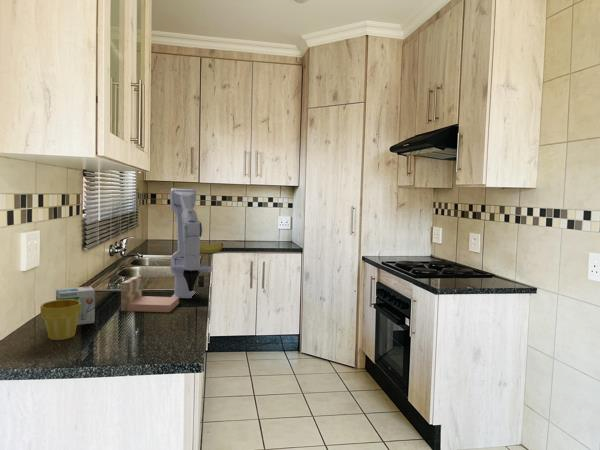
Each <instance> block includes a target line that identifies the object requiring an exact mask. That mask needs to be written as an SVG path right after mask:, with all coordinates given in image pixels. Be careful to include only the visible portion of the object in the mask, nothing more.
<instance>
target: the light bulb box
mask: <svg viewBox="0 0 600 450" xmlns="http://www.w3.org/2000/svg"><path fill="white" fill-rule="evenodd" d="M55 290H56V291H55V300H65V299H72V300H78V301H80V302H81V314H80V315H79V317H78V321H77V326H79V325H86V324H94V323H95V316H96V315H95V314H96V312H95V311H96V309H95V308H96V304H95V303H96V290H95V289H94V287H92V286H91V285H90V286H80V287H68V288H56V289H55Z"/></svg>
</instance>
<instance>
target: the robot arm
mask: <svg viewBox="0 0 600 450" xmlns="http://www.w3.org/2000/svg"><path fill="white" fill-rule="evenodd" d="M196 191H197V190H196V188H195V189H194V188H190V189H189V188H173V187H172V188H171V189H170V192H169V193H170V194H169V195H170V196H169V199H170V203H169V204H170V205H169V206H170V209H171V211H174V213H175V218H176V231H177V232H176V233H177V234H176V236H177V251H175V252H174V253H172V255H171V259H170V272H171V274H173V275H174V293H173V295H171V296H170V297H179V299H192V298H193V297H192V296H193V295H194V294H195V293H196V294H197V292H196V291H195V285H196V282H197V280H198V277H199V275H200V273H212V271H213V270H212V269H213V267H212V266H207V265H201V264H200V263H201V262H200V257H201V256H200V255H201V252H200V241H201V238H202V235H203V225H202V221H200V220H199V219H198V215H197V212H196V210H195V209H194V208H195V205H196V201H197V192H196ZM196 294H195V295H196ZM195 295H194V296H195Z"/></svg>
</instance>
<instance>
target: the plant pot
mask: <svg viewBox="0 0 600 450" xmlns="http://www.w3.org/2000/svg"><path fill="white" fill-rule="evenodd" d="M80 314H81V302H80V301H78V300H72V299H65V300H56V299H55V300H49V301H47V302H44V303H42V304H41V305H40V317H41V319H43V321H44V325H45V328H46V332H47V333H46V334H47V336H48V339H49V340H51V341H62V340H69V339H71V338H74V337H75V334H76V330H77V326H78V325H77V321H78V317H79V315H80Z"/></svg>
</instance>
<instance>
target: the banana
mask: <svg viewBox="0 0 600 450" xmlns="http://www.w3.org/2000/svg"><path fill="white" fill-rule="evenodd" d="M223 247H224V244H223V242H218V243H214V244H206V243H204V242H203V241H202V240H200V253H202V254H214V253H218V252H220V251H221V250H222V249H223Z"/></svg>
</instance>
